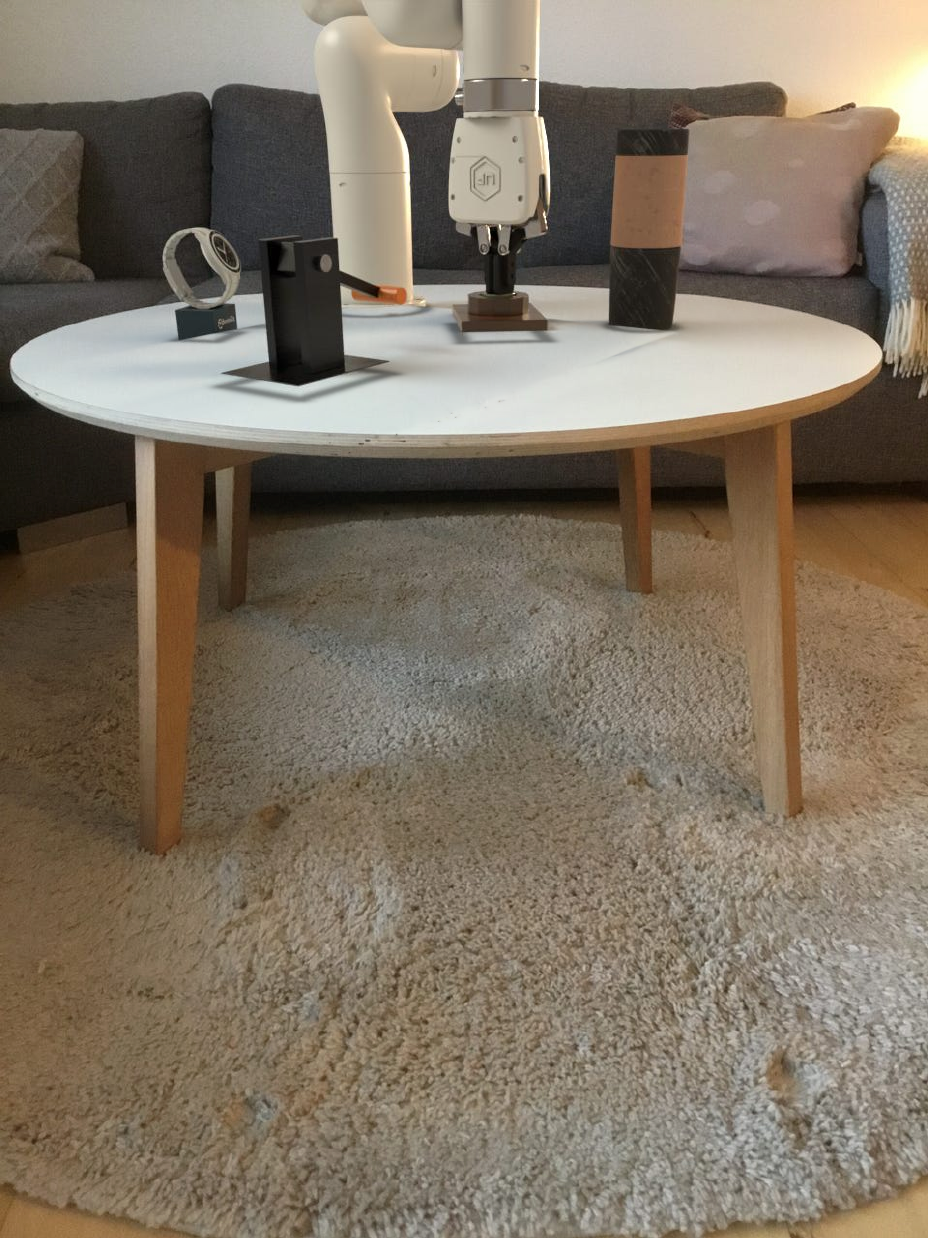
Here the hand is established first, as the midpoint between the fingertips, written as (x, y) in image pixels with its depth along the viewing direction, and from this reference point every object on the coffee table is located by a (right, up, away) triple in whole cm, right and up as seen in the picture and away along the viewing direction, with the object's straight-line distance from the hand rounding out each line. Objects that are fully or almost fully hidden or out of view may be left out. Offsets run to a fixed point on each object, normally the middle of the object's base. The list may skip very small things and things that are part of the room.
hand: (500, 292), depth 109 cm
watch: (-32, -5, +1) cm, 32 cm away
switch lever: (-15, -6, -19) cm, 25 cm away
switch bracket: (-18, -14, -19) cm, 30 cm away
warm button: (0, -2, +1) cm, 2 cm away
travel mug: (+16, -2, +5) cm, 17 cm away
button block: (0, -4, +2) cm, 4 cm away
